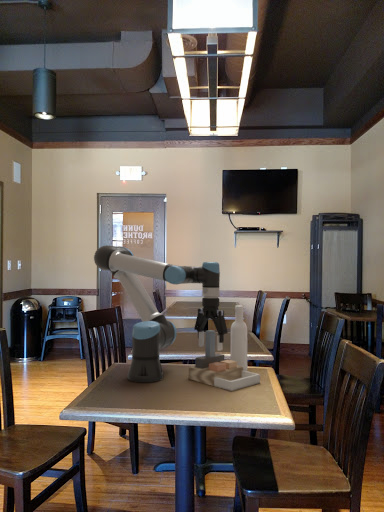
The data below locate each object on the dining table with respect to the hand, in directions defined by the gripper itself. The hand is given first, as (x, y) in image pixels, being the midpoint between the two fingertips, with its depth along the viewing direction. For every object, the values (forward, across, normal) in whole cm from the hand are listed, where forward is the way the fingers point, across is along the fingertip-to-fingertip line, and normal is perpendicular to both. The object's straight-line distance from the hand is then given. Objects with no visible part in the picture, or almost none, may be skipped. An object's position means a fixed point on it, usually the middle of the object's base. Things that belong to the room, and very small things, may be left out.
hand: (210, 348), depth 181 cm
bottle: (+13, +1, +18) cm, 22 cm away
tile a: (+7, +8, -4) cm, 11 cm away
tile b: (+7, +8, +4) cm, 11 cm away
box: (+12, +16, 0) cm, 20 cm away
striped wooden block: (+12, +4, 0) cm, 13 cm away
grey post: (+7, 0, 0) cm, 7 cm away
